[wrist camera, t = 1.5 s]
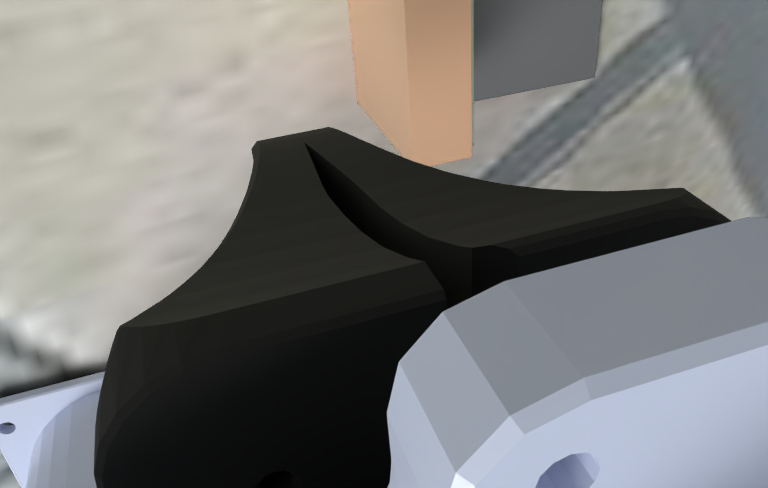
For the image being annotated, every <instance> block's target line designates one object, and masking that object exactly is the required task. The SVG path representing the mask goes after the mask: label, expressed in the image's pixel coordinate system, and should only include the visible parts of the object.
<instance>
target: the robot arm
mask: <svg viewBox="0 0 768 488" xmlns="http://www.w3.org/2000/svg"><path fill="white" fill-rule="evenodd" d="M252 154H253V160H254V163H253V170H252V174H251V178H250V182H249V186H248V189H247V192H246V195H245V198H244V200H243V203H242V205H241V207H240V210H239V212H238V215H237V217H236V219H235V221H234V223H233V225H232V226H231V228H230V230H229V232H228V233H227V235H226V236H225V238H224V240H223V241H222V243H221V244H220V246H219V247H218V248H217V250H216V251H215V252H214V253H213V255H212V256H211V257H210V258H209V259H208V260H207V262H206V263H205V264H204V265H203V266H202V267H201V268H200V269H199V270H198V271H197V272H196V273H195V274H194V275H193V276H192V277H190V278H189V279H188V280H187V281H186V282H185V283H183V284H182V285H181V286H180V287H179V288H177V289H176V290H175V291H174V292H172V293H171V294H170V295H168V296H167V297H166V298H164V299H163V300H161V301H160V302H158V303H157V304H155V305H154V306H152V307H150V308H149V309H147V310H146V311H144V312H142V313H141V314H139V315H138V316H136V317H135V318H133V319H131V320H130V321H128V322H126V323H124V324H123V325H121V326H120V327H119V328H118V330H117V332H116V335H115V338H114V341H113V344H112V348H111V351H110V355H109V358H108V362H107V365H106V369H105V371H104V372H100V373H96V374H92V375H88V376H85V377H81V378H77V379H73V380H69V381H65V382H61V383H57V384H54V385H50V386H46V387H42V388H38V389H34V390H30V391H26V392H23V393H19V394H15V395H11V396H7V397H3V398H0V450H1V452H2V454H3V455H4V457H5V459H6V461H7V463H8V464H9V466H10V468H11V470H12V472H13V474H14V475H15V477H16V479H17V481H18V483H19V484H20V486H21V488H768V217H747V218H743V219H739V220H735V221H731V220H729V219H728V218H726V217H725V216H723V215H722V214H720V213H719V212H717V211H716V210H715V209H713V208H712V207H710V206H709V205H707V204H706V203H704V202H703V201H701V200H700V199H699V198H697V197H696V196H694V195H693V194H691V193H690V192H688V191H687V190H685V189H684V188H670V189H651V190H631V191H566V190H552V189H538V188H530V187H522V186H514V185H506V184H500V183H494V182H488V181H483V180H479V179H474V178H470V177H465V176H461V175H457V174H453V173H449V172H445V171H442V170H438V169H435V168H432V167H429V166H426V165H423V164H420V163H417V162H414V161H411V160H409V159H406V158H404V157H401V156H398V155H396V154H393V153H391V152H388V151H386V150H384V149H381V148H379V147H377V146H374V145H372V144H370V143H367V142H365V141H363V140H361V139H358V138H356V137H354V136H351V135H349V134H347V133H344V132H342V131H340V130H337V129H334V128H330V127H327V128H322V129H317V130H312V131H307V132H301V133H296V134H291V135H286V136H281V137H276V138H271V139H266V140H261V141H257V142H256V143H255V145H254V146H253V148H252ZM5 422H10V423H13V425H10V426H5V425H2V423H5Z"/></svg>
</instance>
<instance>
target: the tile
mask: <svg viewBox="0 0 768 488" xmlns="http://www.w3.org/2000/svg"><path fill="white" fill-rule="evenodd" d="M348 10H349V20H350V31H351V41H352V51H353V61H354V71H355V81H356V92H357V102H358V104H359V105H360V107H361V108H362V109H363V110H364V111H365V113H366V114H367V115H368V116H369V117H370V119H371V120H372V121H373V122H374V123H375V124H376V126H377V127H378V128H379V129H380V130H381V132H382V133H383V134H384V135H385V136H386V138H387V139H388V140H389V141H390V142H391V144H392V145H393V146H394V147H395V148H396V150H397V151H398V152H399V153H400V154H401V156H402V157H404V158H406V159H409V160H411V161H414V162H417V163H420V164H423V165H426V166H433V165H438V164H442V163H447V162H451V161H456V160H461V159H465V158H470V157H472V146H474V0H348Z"/></svg>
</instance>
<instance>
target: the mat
mask: <svg viewBox="0 0 768 488" xmlns="http://www.w3.org/2000/svg"><path fill="white" fill-rule="evenodd" d="M601 9H602V0H474V101H479V100H484V99H489V98H494V97H499V96H504V95H509V94H514V93H519V92H524V91H529V90H534V89H539V88H545V87H550V86H555V85H560V84H565V83H570V82H575V81H580V80H585V79H590V78H595V72H596V62H597V51H598V41H599V30H600V20H601Z"/></svg>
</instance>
